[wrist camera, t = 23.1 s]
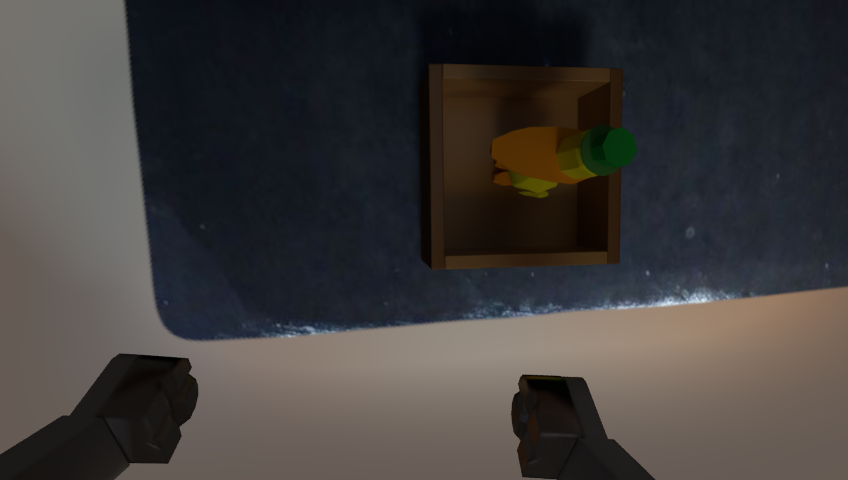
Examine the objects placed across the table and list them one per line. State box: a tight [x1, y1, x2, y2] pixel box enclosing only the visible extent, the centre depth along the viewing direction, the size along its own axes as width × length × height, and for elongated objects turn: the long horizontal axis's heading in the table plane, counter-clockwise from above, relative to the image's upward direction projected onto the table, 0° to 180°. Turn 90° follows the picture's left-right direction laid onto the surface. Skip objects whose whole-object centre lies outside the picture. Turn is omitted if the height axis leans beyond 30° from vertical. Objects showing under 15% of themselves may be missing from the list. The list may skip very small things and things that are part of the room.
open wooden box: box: [419, 63, 623, 270], centre depth 27 cm, size 12×12×5 cm
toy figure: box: [489, 125, 637, 198], centre depth 23 cm, size 7×4×12 cm, turn 85°
